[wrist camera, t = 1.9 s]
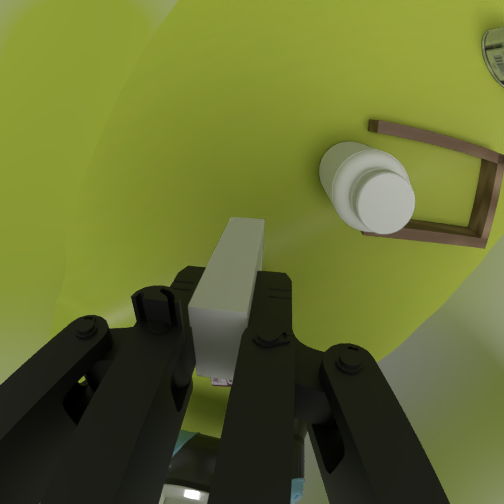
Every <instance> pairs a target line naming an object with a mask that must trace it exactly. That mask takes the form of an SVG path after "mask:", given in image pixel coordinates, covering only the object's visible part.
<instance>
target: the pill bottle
mask: <svg viewBox="0 0 504 504" xmlns="http://www.w3.org/2000/svg"><path fill="white" fill-rule="evenodd" d="M319 177H320V181H321V184H322V186H323V188H324V190H325V192H326V194H327V195H328V197H329V199H330V201H331V203H332V204H333V206H334V208H335V210H336V212H337V213H338V215H339V216H340V217H341V219H342V220H343V221H344V222H345V223H347V224H348V225H349V226H351V227H353V228H355V229H357V230H360V231H365V232H375V233H378V234H391V233H394V232H397V231H398V230H400V229H402V228H403V227H404V226H405V225H406V224H407V223H408V222H409V220H410V218H411V217H412V214H413V212H414V207H415V196H414V191H413V188H412V187H411V185H410V180H409V177H408V174H407V172H406V170H405V168H404V167H403V165H402V164H401V163H400V162H399V161H398V160H397V159H396V158H395V157H393V156H392V155H390V154H388V153H386V152H384V151H381V150H378V149H375V148H373V147H370V146H367V145H364V144H361V143H358V142H352V141H347V142H341V143H338V144H336V145H334V146H332V147H331V148H330V149H329V150H328V151H327V152H326V153H325V154H324V156H323V158H322V160H321V163H320V167H319Z"/></svg>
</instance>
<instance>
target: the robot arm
mask: <svg viewBox="0 0 504 504" xmlns="http://www.w3.org/2000/svg"><path fill="white" fill-rule="evenodd" d="M264 224H265V219H256V218H241V217H231V218H230V220H229V222H228V224H227V226H226V228H225V230H224V232H223V234H222V236H221V238H220V240H219V242H218V244H217V246H216V248H215V250H214V252H213V254H212V256H211V258H210V260H209V263H208V265H207V267H196V266H187V267H186V268H184V269H183V270H181V271H180V272H179V273H178V274H177V276H176V278H175V279H174V282H173V283H172V284H171V286H170V287H167V286H149V287H145V288H143V289H140V290H138V291H136V292H135V293H134V294H133V295H132V296H131V299H132V303H133V308H134V312H135V316H136V320H137V322H136V324H135V325H134V327H128V328H113V329H109V327H108V324H107V321H106V320H105V319H104V318H102V317H100V316H96V315H86V316H83V317H80V318H78V319H76V320H74V321H73V322H71V323H70V324H69V325H68V326H67V327H65V328H64V329H63V330H62V331H61V332H60V333H58V334H57V335H56V336H55V337H54V338H52V339H51V340H50V341H49V342H48V343H47V344H46V345H44V346H43V347H42V348H41V349H40V350H39V351H37V353H35V354H34V355H33V356H32V357H31V358H30V359H28V360H27V361H26V362H25V363H24V364H23V365H22V366H21V367H20V368H19V369H17V370H16V371H15V372H14V373H13V374H12V375H11V376H10V377H9V378H8V379H7V380H5V382H3V383H2V384H1V385H0V504H158V503H159V500H160V497H161V493H162V494H163V495H164V498H165V499H164V503H163V504H293V503H296V502H297V501H299V500H300V499H301V497H302V495H303V487H304V482H305V478H304V439H305V436H306V434H307V431H308V433H309V437H310V440H311V443H312V446H313V450H314V453H315V457H316V460H317V463H318V467H319V470H320V473H321V476H322V480H323V483H324V486H325V490H326V493H327V496H328V500H329V503H330V504H450V503H449V501H448V498H447V496H446V494H445V492H444V490H443V488H442V486H441V483H440V481H439V479H438V477H437V475H436V473H435V471H434V469H433V467H432V465H431V463H430V461H429V459H428V457H427V455H426V453H425V451H424V449H423V447H422V445H421V443H420V441H419V439H418V437H417V435H416V434H415V432H414V430H413V428H412V426H411V424H410V422H409V421H408V418H407V417H406V415H405V413H404V411H403V409H402V407H401V405H400V404H399V402H398V400H397V398H396V396H395V395H394V393H393V391H392V389H391V387H390V386H389V384H388V382H387V380H386V379H385V377H384V375H383V373H382V372H381V370H380V368H379V366H378V365H377V363H376V361H375V359H374V358H373V356H372V355H371V354H370V353H369V352H368V351H367V350H365V349H364V348H362V347H360V346H357V345H354V344H350V343H345V344H337V345H334V346H331V347H330V348H329V349H328V350H327V351H325V352H322V351H319V350H315V349H312V348H310V347H307V346H305V345H304V344H302V343H301V342H300V341H299V340H298V339H297V338H296V337H295V335H294V333H293V330H292V281H291V280H290V278H289V277H288V276H287V274H286V273H280V272H267V271H262V260H263V242H264ZM195 366H196V373H197V375H198V376H205V377H211V378H219V379H227V380H233V381H232V386H231V391H230V396H229V400H228V405H227V410H226V415H225V420H224V425H223V430H222V435H221V439H220V438H216V437H212V436H208V435H203V434H200V433H199V432H196V433H194V432H189V431H185V430H180V429H181V425H182V422H183V419H184V416H185V412H186V409H187V406H188V402H189V399H190V396H191V393H192V389H193V381H192V374H193V371H194V368H195ZM83 376H84V377H85V379H86V380H85V381H83V382H82V383H78V381H79V380H80V379H81V378H82V377H83ZM40 502H41V503H40Z"/></svg>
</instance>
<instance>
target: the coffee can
mask: <svg viewBox="0 0 504 504" xmlns="http://www.w3.org/2000/svg"><path fill="white" fill-rule="evenodd" d="M482 52H483V57H484V60H485V62H486V65H487V67H488V69H489V71H490V73H491V74H492V76H493V77H494V78H495V80H496V81H497V82H498V83H499V84H500V85H501V86H503V87H504V27H500V28H497V29H491V30H488V31H487V32H486V33H485V34H484V36H483V39H482Z"/></svg>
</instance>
